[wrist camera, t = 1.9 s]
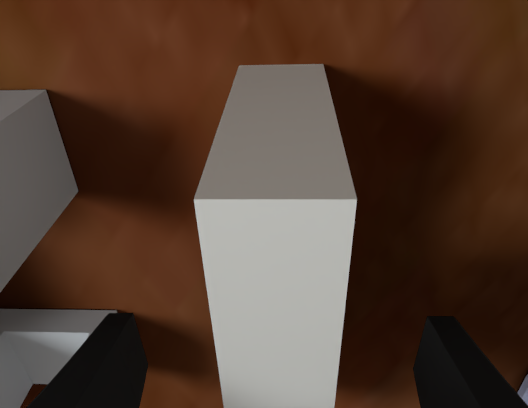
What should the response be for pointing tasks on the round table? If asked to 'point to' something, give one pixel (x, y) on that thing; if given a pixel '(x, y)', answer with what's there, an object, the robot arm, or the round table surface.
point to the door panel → (277, 238)
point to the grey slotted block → (33, 242)
